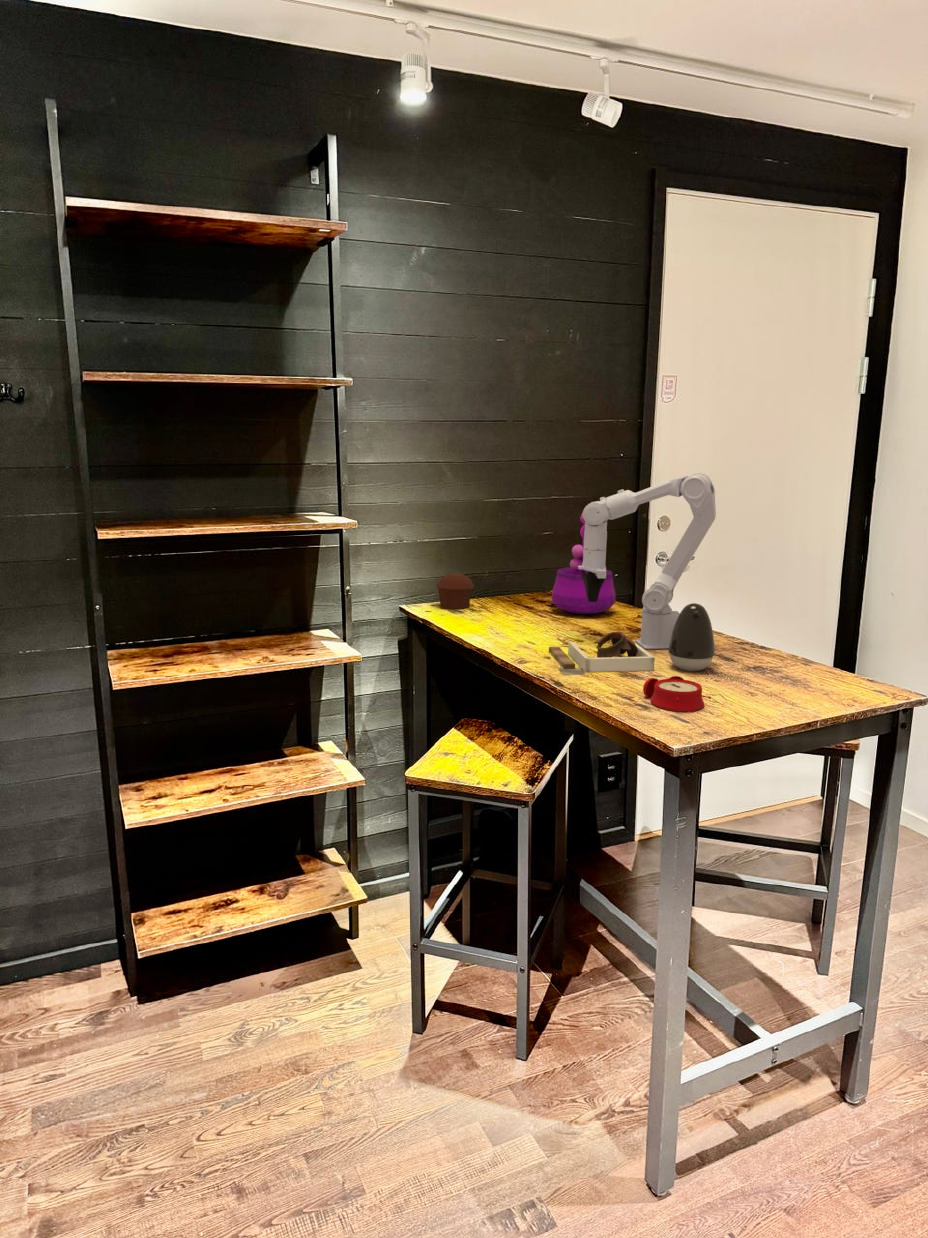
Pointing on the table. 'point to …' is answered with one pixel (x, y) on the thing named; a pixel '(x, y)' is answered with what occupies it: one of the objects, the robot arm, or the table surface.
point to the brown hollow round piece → (616, 646)
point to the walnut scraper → (564, 662)
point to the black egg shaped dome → (692, 639)
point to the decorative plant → (580, 586)
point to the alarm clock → (675, 694)
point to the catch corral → (612, 661)
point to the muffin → (455, 591)
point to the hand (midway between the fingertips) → (592, 601)
